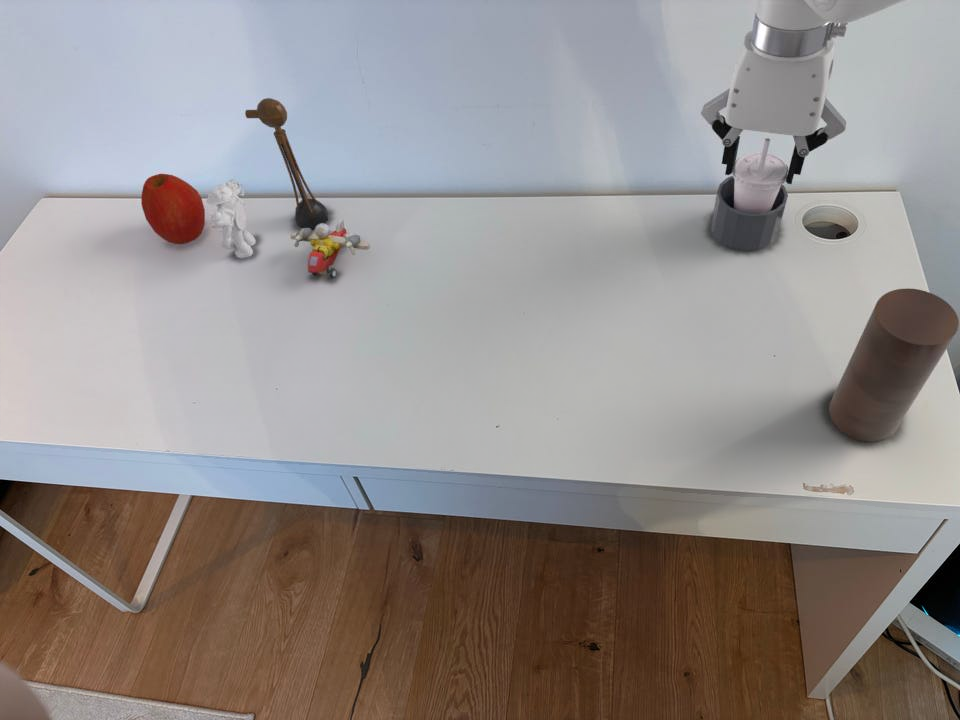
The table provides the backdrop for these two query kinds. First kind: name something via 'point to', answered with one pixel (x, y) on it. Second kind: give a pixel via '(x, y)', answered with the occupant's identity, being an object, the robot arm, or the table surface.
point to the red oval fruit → (173, 208)
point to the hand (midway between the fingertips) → (759, 171)
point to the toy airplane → (327, 246)
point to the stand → (892, 363)
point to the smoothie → (758, 181)
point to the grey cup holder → (745, 221)
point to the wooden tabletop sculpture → (290, 163)
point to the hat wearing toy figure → (231, 217)
